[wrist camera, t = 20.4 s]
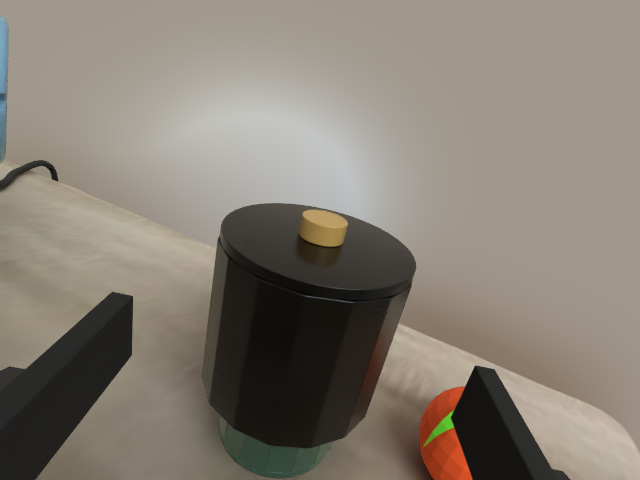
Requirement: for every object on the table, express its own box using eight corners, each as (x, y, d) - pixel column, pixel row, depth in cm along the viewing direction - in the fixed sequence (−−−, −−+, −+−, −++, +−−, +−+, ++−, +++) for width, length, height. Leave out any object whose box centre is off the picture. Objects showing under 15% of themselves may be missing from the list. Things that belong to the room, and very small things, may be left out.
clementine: (435, 558, 20) (484, 473, 18) (374, 446, 26) (404, 369, 23) (531, 518, 24) (584, 441, 21) (458, 426, 29) (493, 357, 27)
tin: (207, 390, 27) (229, 217, 22) (304, 370, 31) (342, 220, 26) (237, 497, 21) (278, 289, 16) (354, 455, 25) (417, 279, 20)
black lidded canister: (189, 331, 26) (203, 180, 22) (322, 315, 32) (354, 191, 27) (229, 476, 17) (265, 271, 13) (402, 418, 23) (467, 261, 19)
